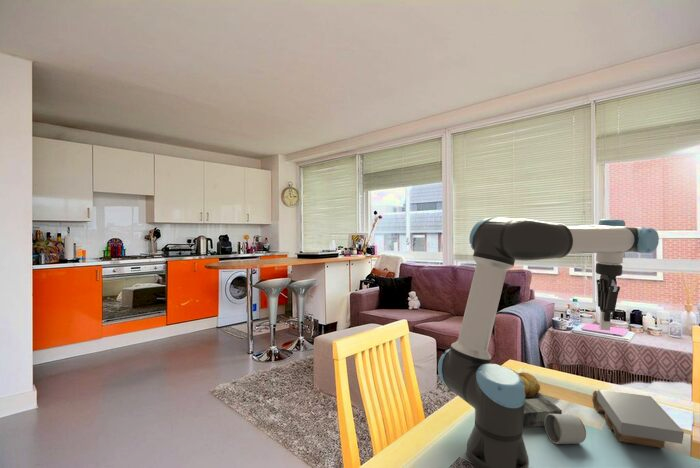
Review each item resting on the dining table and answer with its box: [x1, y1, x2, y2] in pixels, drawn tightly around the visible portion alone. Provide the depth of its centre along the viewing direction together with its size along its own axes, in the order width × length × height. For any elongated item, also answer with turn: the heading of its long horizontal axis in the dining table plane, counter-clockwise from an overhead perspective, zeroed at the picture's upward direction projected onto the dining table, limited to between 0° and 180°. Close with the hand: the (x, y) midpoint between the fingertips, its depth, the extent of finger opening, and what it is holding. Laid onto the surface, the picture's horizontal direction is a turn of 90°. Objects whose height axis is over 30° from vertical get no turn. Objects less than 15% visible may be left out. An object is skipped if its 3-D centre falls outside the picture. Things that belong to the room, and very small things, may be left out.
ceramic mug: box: [544, 413, 587, 445], centre depth 104 cm, size 11×8×8 cm
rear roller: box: [591, 390, 605, 414], centre depth 117 cm, size 6×10×6 cm
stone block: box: [523, 397, 563, 428], centre depth 113 cm, size 9×14×5 cm, turn 95°
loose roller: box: [613, 424, 666, 449], centre depth 102 cm, size 6×10×6 cm, turn 74°
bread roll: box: [510, 368, 541, 398], centre depth 129 cm, size 13×10×8 cm
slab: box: [597, 389, 684, 445], centre depth 103 cm, size 14×16×4 cm
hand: (604, 329), depth 126 cm, fingers closed
